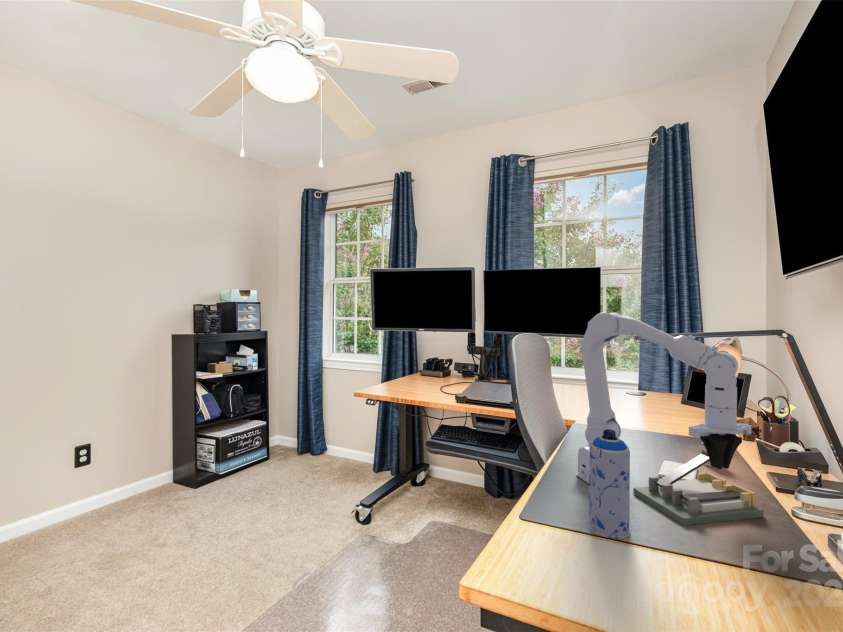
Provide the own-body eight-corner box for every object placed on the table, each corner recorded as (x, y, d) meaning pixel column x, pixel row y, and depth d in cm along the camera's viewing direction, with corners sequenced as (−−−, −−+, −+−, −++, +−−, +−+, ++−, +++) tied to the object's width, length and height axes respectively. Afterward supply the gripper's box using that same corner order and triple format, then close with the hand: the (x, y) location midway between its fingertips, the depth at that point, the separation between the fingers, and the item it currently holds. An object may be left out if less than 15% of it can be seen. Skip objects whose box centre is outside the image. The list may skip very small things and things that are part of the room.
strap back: (664, 488, 95) (663, 486, 95) (656, 484, 97) (655, 482, 97) (711, 459, 97) (710, 457, 97) (701, 456, 100) (700, 453, 100)
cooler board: (684, 525, 85) (684, 504, 84) (633, 494, 99) (633, 475, 99) (763, 516, 88) (763, 496, 88) (703, 487, 103) (703, 469, 103)
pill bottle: (716, 462, 121) (717, 434, 121) (724, 468, 116) (724, 438, 116) (698, 460, 122) (698, 432, 122) (705, 466, 117) (705, 437, 117)
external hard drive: (697, 472, 115) (694, 487, 105) (663, 465, 120) (657, 479, 110) (697, 466, 115) (694, 480, 105) (663, 459, 120) (657, 473, 110)
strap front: (689, 502, 88) (690, 499, 88) (680, 497, 90) (680, 494, 90) (743, 498, 91) (744, 495, 91) (732, 493, 93) (732, 490, 93)
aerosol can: (594, 514, 89) (595, 423, 89) (634, 527, 84) (635, 430, 84) (582, 529, 83) (583, 431, 83) (624, 543, 78) (625, 439, 78)
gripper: (708, 412, 85) (707, 476, 86) (765, 409, 88) (764, 471, 88) (681, 404, 92) (680, 464, 92) (734, 402, 95) (734, 460, 95)
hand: (719, 467), depth 91 cm, fingers closed
